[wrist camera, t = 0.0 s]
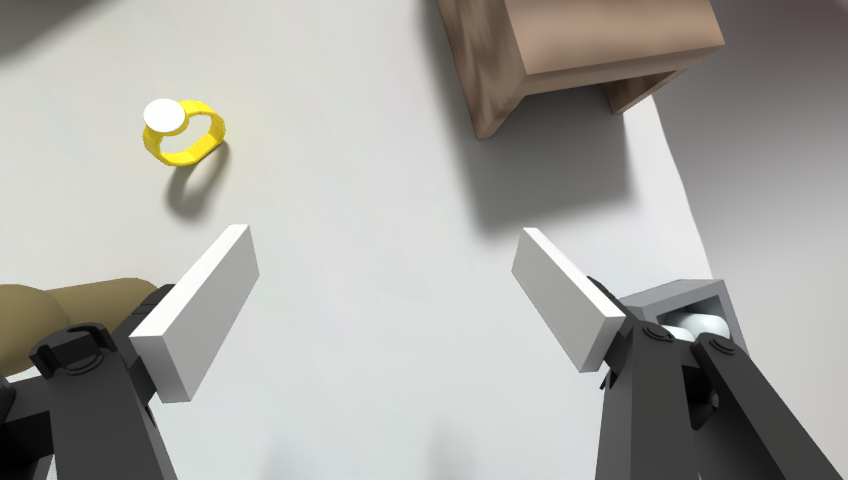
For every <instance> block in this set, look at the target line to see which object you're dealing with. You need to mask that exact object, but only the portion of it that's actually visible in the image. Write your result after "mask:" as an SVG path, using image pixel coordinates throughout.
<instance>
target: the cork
mask: <svg viewBox="0 0 848 480" xmlns="http://www.w3.org/2000/svg"><path fill="white" fill-rule="evenodd" d="M157 289H158V288H157V287H155V286H154V285H152V284H151V283H149V282H148V281H145V280H141V279H138V278H122V279H115V280H109V281H103V282H96V283H90V284H84V285H77V286H71V287H65V288H58V289H52V290H46V291H43V290H39V289H36V288H32V287H28V286H24V285H19V284H5V285H0V374H1V375H3V376H4V377H8V376H11V375H14V374H17V373H20V372H23V371H25V370H27V369H29V368H31V367H33V366H34V364H33V362H32V361H31V359H30V358H29V357H28V356H29V353H30V351H31V349H32V348H33V347H34V346H35V345H36V344H37V343H38V342H39V341H40V340H42V339H44V338H45V337H47V336H49V335H50V334H52V333H54V332H56V331H59V330H61V329H63V328H66V327H69V326H73V325H76V324H80V323H89V322H95V323H101V324H103V325H104V326H105V327H106V328H107V330H108V332H109V334H111V333H112V332H113V331H114V330H115V329H116V328H117V327H118V326H119V325H120V324H121V323H122V322H123V321H124V320H125V319H126V318H127V317H128V316H129V315H131V313H132V312H133V311H134V310H135V309H136V308H137V306H140V303H141V302H142V301H143V300H144V299H145V298H146V297H147V296H148V295H149V294H150V293H152V292H154V291H155V290H157Z"/></svg>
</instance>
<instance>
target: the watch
mask: <svg viewBox="0 0 848 480" xmlns="http://www.w3.org/2000/svg"><path fill="white" fill-rule="evenodd" d="M199 114H200V115H208V116H211V120H212V124H211V127H210V130H209V132H208V133H207V134H206V135H205V136H204V137H202V138H201V139H200V140H199V141H197V142H196V143H195V144H194V145H192V146H191V147H190V148H189V149H187V150H186V151H182V152H178V153H174V154H169V153H161V151H160V146H159V145H160V143H161V141H162V138H163V136H175V135H178V134H180V133H182V132H183V131H184V130H185V129H186V128H187V126H188V124H189V117H192V116H195V115H199ZM143 118H144V121H145V123H146V127H145V129H144V132H143V136H142V137H143V141H144V145H145V147H146V149H147V150H148V151H149V152H151V153H152V154H153V155H154V156H155V157H156V158H157V159H158V160H160V161H161V162H163V163H164V164H165V165H168V166H180V167H182V166H187V165H190V164H194V163H197V162H198V161H199V160H200V159H202V158H203V157H204V156H205V155H206V154H208V153H209V152H210V151H211V150H213V149H214V148H215V147H216V146H217V145H220V144H221V142H222V140H223V137H224V135H225V131H226V130H225V124H224V121H223V119H222V118H221V117H220V116H219V115H218V114H217V113H216V112H215V111H213V110H212V109H211V108H210V107H209V106H208V105H206V104H205V103H203V102H199V101H193V100H185V101H181V102H176V101H173V100H170V99H158V100H155V101H153V102H151V103H150V104H149V105H148V106H147V107H146V108H145V110H144V115H143Z"/></svg>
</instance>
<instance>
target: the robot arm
mask: <svg viewBox="0 0 848 480" xmlns="http://www.w3.org/2000/svg"><path fill="white" fill-rule="evenodd" d="M511 272H512V274H513V275H514V277H515V278H516V280H517V281H518V283H519V284H520V286H521V287H522V289H523V290H524V291H525V293H526V294H527V296H528V297H529V299H530V300H531V302H532V303H533V305H534V306H535V308H536V309H537V311H538V312H539V314H540V315H541V317H542V318H543V320H544V321H545V323H546V324H547V325H548V327H549V328H550V330H551V331H552V333H553V334H554V336H555V337H556V339H557V340H558V342H559V343H560V345H561V346H562V348H563V349H564V351H565V352H566V354H567V355H568V357H569V358H570V360H571V361H572V362H573V364H574V365H575V367H576V368H577V370H578V371H579V373H583V372H596V371H598V370H599V368H600V366H601V364H602V362H603V360H604V361H605V362H606V363H607V364H608V366H609V367H610V369H609V371H608V373H607V375H606V377H605V379H604V381H603V382H602V384H601V386H600V388H599V389H601V390H603V388H604V387H605V394H604V403H603V412H602V421H601V430H600V439H599V448H598V457H597V466H596V475H595V480H699V475H700V477H701V480H843V479H842V477H841V476H840V475H839V474H838V472H837V471H836V470H835V468H834V467H833V466H832V464H831V463H830V462H829V461H828V459H827V458H826V457H825V455H824V454H823V453H822V451H821V450H820V449H819V447H818V446H817V445H816V444H815V442H814V441H813V440H812V438H811V437H810V436H809V434H808V433H807V432H806V430H805V429H804V428H803V427H802V425H801V424H800V423H799V421H798V420H797V419H796V417H795V416H794V415H793V414H792V412H791V411H790V410H789V408H788V407H787V406H786V404H785V403H784V402H783V401H782V399H781V398H780V397H779V395H778V394H777V393H776V392H775V390H774V389H773V387H772V386H771V385H770V384H769V383H768V381H767V380H766V378H765V377H764V376H763V374H762V373H761V372H760V371H759V369H758V368H757V367H756V365H755V364H754V363H753V361H752V360H751V359H750V358H749V356H748V355H747V354H746V352H745V351H744V350H743V349H742V348H741V347H740V346H738V345H737V344H735V343H734V342H733V341H731V340H730V339H728V338H726V337H723V336H721V335H717V334H714V333H709V332H703V333H700V334H699V335H698V337H697V338H696V340H695V341H694V342H692V341H687V340H681V339H676V338H675V336H674V335H673V334H672V333H671V332H670V331H668V330H667V329H665V328H664V327H662V326H660V325H658V324H656V323H653V322H649V321H641V320H639V319H638V318H637V317H636V316H635V315H634V314H632V313H631V312H630V311H629V310H628V309H627V308H626V307H625V306H624V305H623V304H622V303H621V302H620V301H619V300H618V299H615V296H614V295H612V294H611V293H609V291H608V290H607V289H606V288H605V287H604V286H603V285H602V284H601V283H599V282H598V281H596V280H594V279H593V278H591V277H589V276H585V275H584V274H583V273H582V272H581V271H580V270H579V269H578V268H577V267H576V266H575V265H574V264H573V263H572V262H571V261H570V260H569V259H568V258H567V257H566V256H565V255H564V254H563V253H561V252H560V251H559V250H558V249H557V248H556V247H555V246H554V245H553V244H552V243H551V242H550V241H549V240H548V239H547V238H546V237H545V236H544V235H543V234H542V233H541V232H540V231H539V230H538V229H537V228H522V232H521V236H520V240H519V244H518V248H517V251H516V255H515V259H514V263H513V267H512V271H511ZM258 277H259V270H258V266H257V261H256V256H255V251H254V246H253V241H252V236H251V232H250V227H249V225H233V224H230V226H229V227H228V228H227V229H226V230H225V231H224V232H223V233H222V234H221V235H220V237H219V238H218V239H217V240H216V241H215V242H214V243H213V244H212V245H211V246H210V248H209V249H208V250H207V251H206V252H205V253H204V254H203V255H202V256H201V258H200V259H199V260H198V261H197V262H196V263H195V264H194V265H193V266H192V267H191V269H190V270H189V271H188V272H187V273H186V274H185V275H184V276H183V277H182V278H181V280H180V281H179V282H178V283H177V284H165V285H164V286H162V287H160V288H159V289H157V290H155V291H154V292H152V293H150V294H149V295H148V296H147V297H146V298H145V299H144V300H143V301H142V302H141V303H140V306H137V308H136V309H135V310H134V311H133V312H132V313H131V315H129V316H128V317H127V318H126V319H125V320H124V321H123V322H122V323H121V324H120V325H119V326H118V327H117V328H116V329H115V330H114V331H113V332H112V333H111V334H109V332H108V330H107V328H106V327H105V326H104V325H103V324H101V323H95V322H89V323H80V324H76V325H73V326H69V327H66V328H63V329H61V330H59V331H56V332H54V333H52V334H50V335H49V336H47V337H45V338H44V339H42V340H40V341H39V342H38V343H37V344H36V345H35V346H34V347H33V348H32V349H31V351H30V353H29V356H28V357H29V358H30V359H31V361H32V362H33V364H34V365H35V366H36V368H37V369H38V370H39V372H40V373H41V374H42V375H41V376H37V377H33V378H29V379H25V380H21V381H17V382H13V383H9V382H8V381H7V379H6V378H5V377H4V376H3V375H1V374H0V480H46V478H47V475H48V471H49V468H50V464H51V461H52V458H53V454H55V463H56V471H57V480H178V479H177V476H176V474H175V471H174V469H173V466H172V463H171V461H170V458H169V456H168V453H167V450H166V448H165V445H164V443H163V440H162V437H161V435H160V432H159V430H158V427H157V424H156V422H155V419H154V417H153V414H152V411H151V409H150V407H149V405H148V402H149V401H150V399H151V398H152V396H153V395H154V393H155V392H157V394H158V396H159V398H160V400H161V402H162V403H176V402H189V401H191V400H192V398H193V396H194V394H195V393H196V391H197V389H198V387H199V385H200V383H201V382H202V380H203V378H204V376H205V374H206V372H207V371H208V369H209V367H210V365H211V363H212V361H213V360H214V358H215V356H216V354H217V352H218V350H219V349H220V347H221V345H222V343H223V341H224V339H225V338H226V336H227V334H228V332H229V330H230V328H231V327H232V325H233V323H234V321H235V319H236V317H237V316H238V314H239V312H240V310H241V308H242V306H243V305H244V303H245V301H246V299H247V297H248V295H249V294H250V292H251V290H252V288H253V286H254V284H255V283H256V281H257V279H258ZM717 396H718V399H719V404H717V402H716V400H715V399H716V397H717ZM698 472H699V473H698Z"/></svg>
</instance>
